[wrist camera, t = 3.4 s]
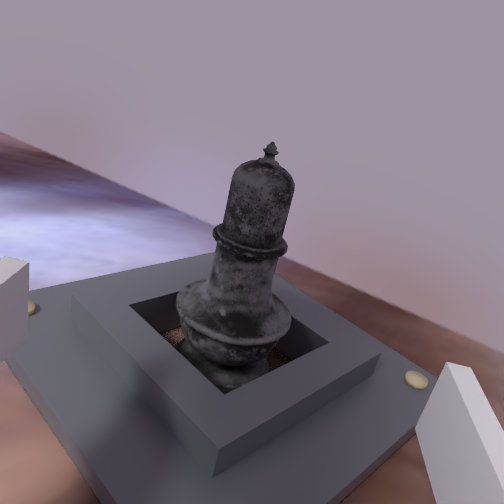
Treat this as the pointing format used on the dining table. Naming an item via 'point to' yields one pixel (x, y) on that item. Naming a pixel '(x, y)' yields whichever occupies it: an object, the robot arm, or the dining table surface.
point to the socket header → (210, 397)
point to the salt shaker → (240, 281)
